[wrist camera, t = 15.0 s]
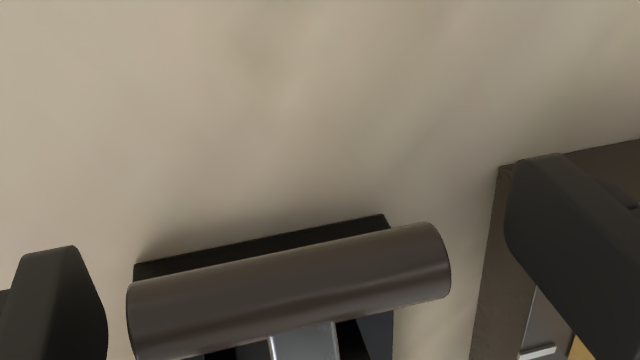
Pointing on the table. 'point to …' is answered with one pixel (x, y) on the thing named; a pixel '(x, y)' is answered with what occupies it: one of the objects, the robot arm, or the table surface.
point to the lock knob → (579, 351)
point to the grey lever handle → (287, 296)
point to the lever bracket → (353, 335)
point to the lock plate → (515, 284)
